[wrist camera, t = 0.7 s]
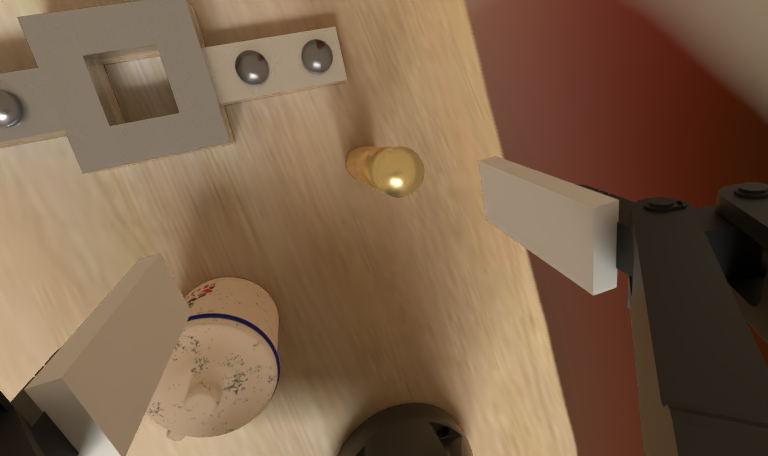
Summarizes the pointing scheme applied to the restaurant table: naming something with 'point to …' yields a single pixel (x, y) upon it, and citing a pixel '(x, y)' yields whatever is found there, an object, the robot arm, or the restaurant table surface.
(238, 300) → the teacup with lid
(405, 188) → the brass pin
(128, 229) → the restaurant table surface
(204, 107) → the studded slotted bracket
